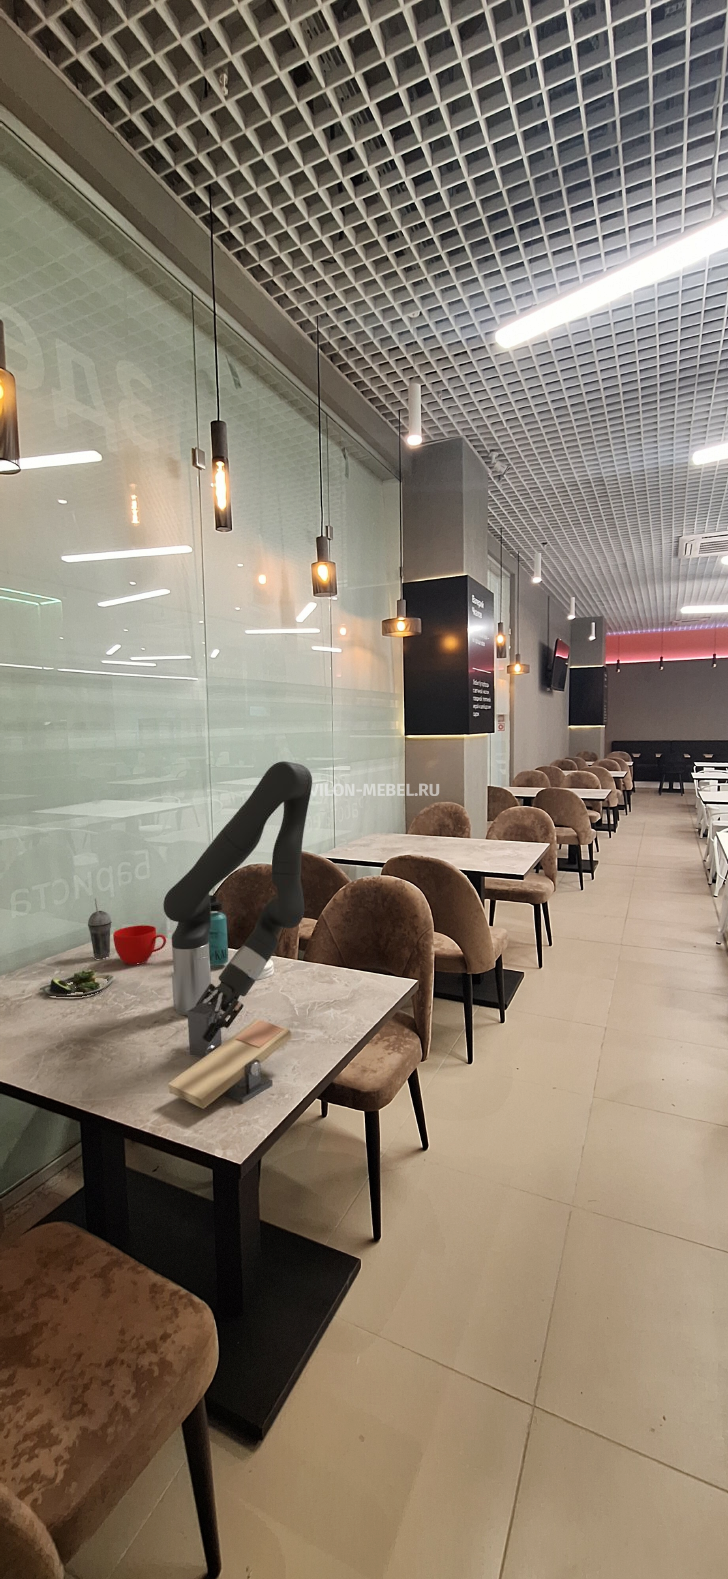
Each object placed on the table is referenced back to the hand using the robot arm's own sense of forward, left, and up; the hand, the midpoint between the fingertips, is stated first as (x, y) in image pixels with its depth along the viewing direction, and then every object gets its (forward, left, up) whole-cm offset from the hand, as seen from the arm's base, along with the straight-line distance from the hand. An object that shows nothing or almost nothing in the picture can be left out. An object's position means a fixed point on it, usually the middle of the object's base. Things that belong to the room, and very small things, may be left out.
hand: (198, 1034), depth 148 cm
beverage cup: (-82, +26, -5) cm, 86 cm away
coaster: (-27, +43, -5) cm, 50 cm away
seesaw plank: (+16, -4, 0) cm, 17 cm away
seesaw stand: (+16, -4, -5) cm, 18 cm away
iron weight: (0, +2, -5) cm, 5 cm away
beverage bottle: (-42, +41, -5) cm, 58 cm away
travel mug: (-52, +46, -5) cm, 69 cm away
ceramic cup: (-67, +31, -5) cm, 73 cm away
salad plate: (-62, +6, -5) cm, 63 cm away
